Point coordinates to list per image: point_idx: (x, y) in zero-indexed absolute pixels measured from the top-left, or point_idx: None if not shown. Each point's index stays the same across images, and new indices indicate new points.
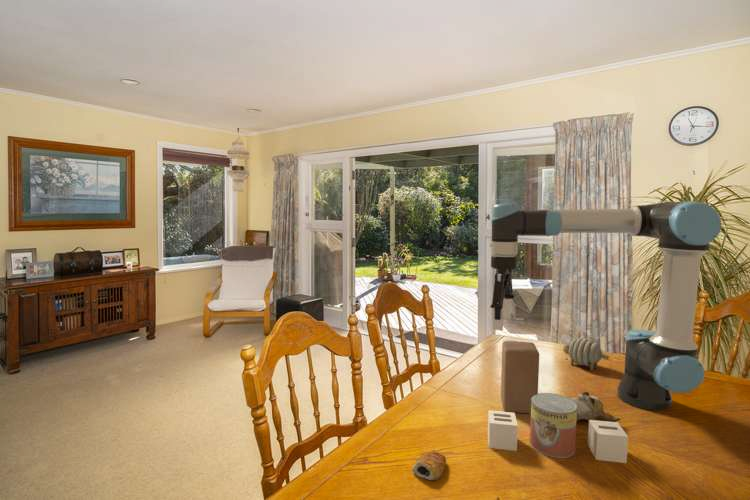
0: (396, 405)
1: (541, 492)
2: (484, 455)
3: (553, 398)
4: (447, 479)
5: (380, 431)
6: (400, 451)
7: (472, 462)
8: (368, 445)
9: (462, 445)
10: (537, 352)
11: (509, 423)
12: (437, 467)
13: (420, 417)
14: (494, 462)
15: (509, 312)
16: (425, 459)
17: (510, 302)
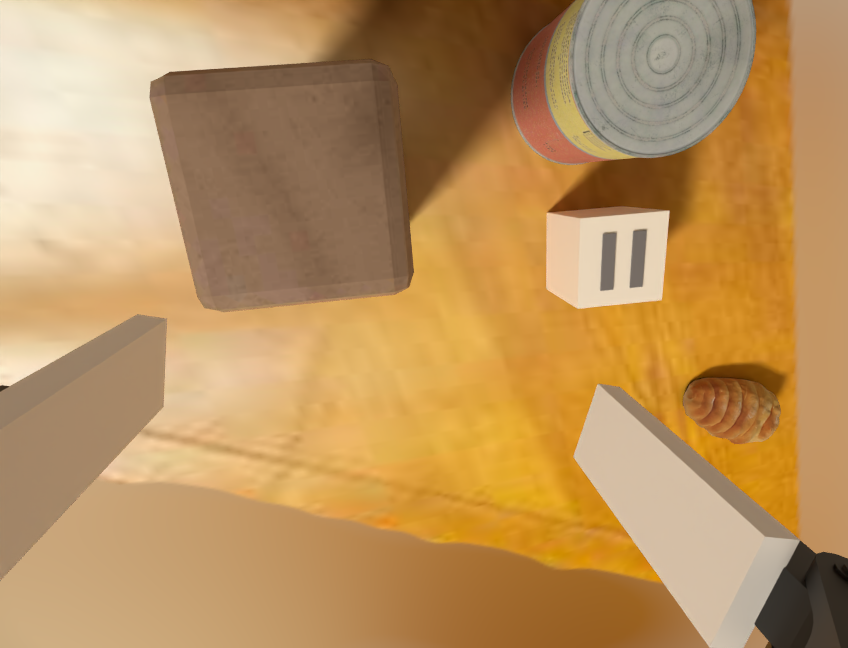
0: (443, 542)
1: (789, 153)
2: None
3: (622, 48)
4: (752, 365)
5: (585, 537)
6: None
7: (687, 319)
8: None
9: (617, 349)
10: (385, 72)
11: (658, 237)
12: (765, 396)
13: (496, 471)
14: (682, 266)
15: (124, 361)
16: (756, 427)
17: (14, 426)
